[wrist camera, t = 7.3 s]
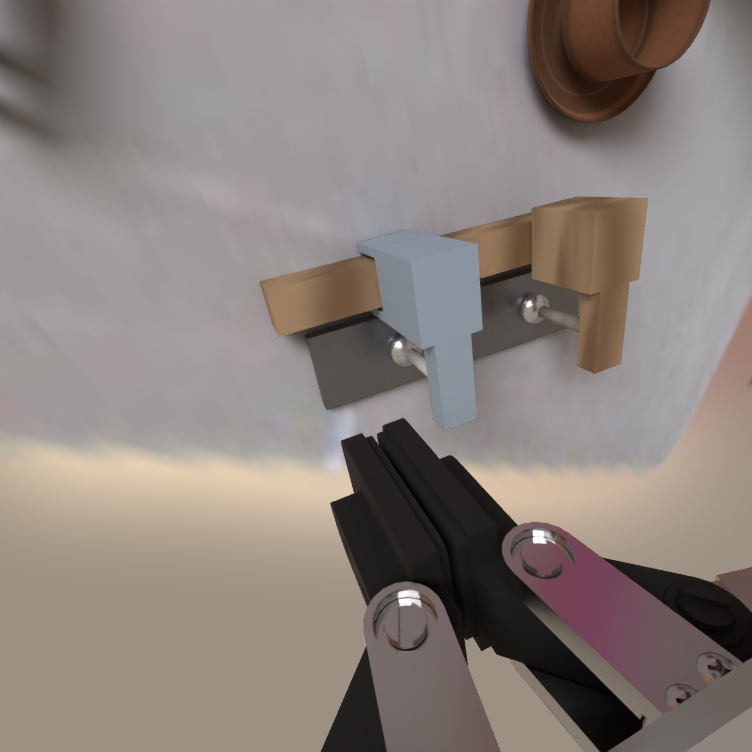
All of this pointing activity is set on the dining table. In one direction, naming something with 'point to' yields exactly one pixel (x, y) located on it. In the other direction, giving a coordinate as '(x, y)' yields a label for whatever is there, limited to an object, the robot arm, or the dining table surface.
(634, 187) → the dining table surface
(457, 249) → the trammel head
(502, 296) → the bolt plate
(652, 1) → the cup and saucer
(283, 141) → the dining table surface
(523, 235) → the beam
